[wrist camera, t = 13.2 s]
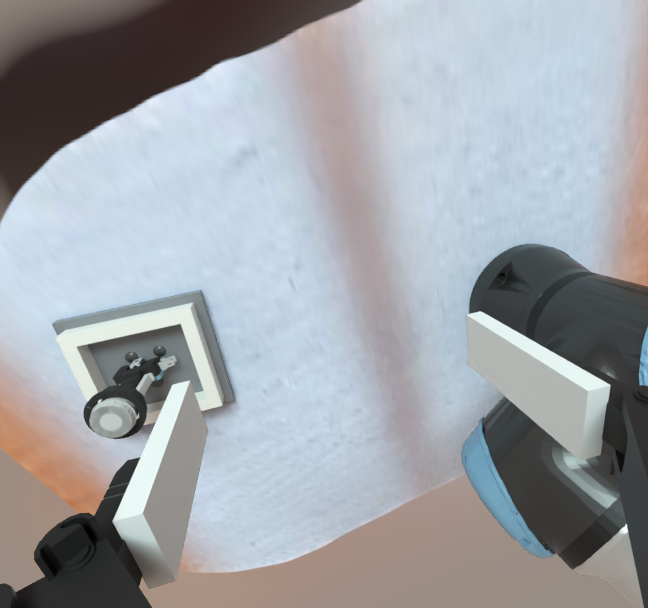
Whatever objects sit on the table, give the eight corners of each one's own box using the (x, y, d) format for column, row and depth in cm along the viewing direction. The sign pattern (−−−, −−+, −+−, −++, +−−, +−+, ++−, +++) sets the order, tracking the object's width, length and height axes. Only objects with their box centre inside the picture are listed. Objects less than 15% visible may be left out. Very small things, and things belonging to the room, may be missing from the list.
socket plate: (201, 290, 40) (196, 297, 38) (234, 396, 46) (232, 410, 43) (56, 320, 39) (41, 331, 36) (108, 427, 44) (98, 444, 41)
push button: (166, 337, 40) (138, 383, 31) (187, 374, 42) (166, 428, 33) (111, 357, 40) (66, 410, 31) (134, 394, 42) (98, 453, 33)
